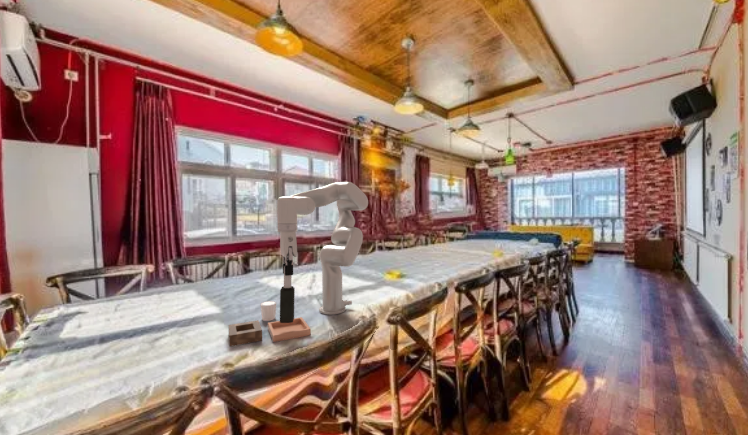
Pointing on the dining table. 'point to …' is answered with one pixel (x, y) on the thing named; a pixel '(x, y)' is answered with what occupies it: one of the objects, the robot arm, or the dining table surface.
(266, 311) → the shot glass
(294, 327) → the tray
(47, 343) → the dining table surface
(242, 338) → the block
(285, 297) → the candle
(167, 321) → the dining table surface
